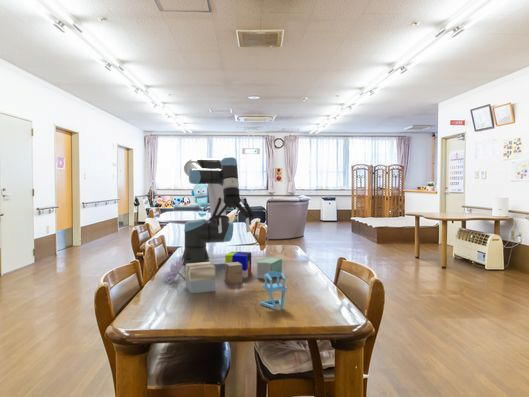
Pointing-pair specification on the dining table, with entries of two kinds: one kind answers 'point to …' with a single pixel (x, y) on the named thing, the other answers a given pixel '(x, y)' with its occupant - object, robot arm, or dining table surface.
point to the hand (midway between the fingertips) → (234, 232)
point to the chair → (274, 289)
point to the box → (268, 266)
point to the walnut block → (233, 272)
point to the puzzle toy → (240, 261)
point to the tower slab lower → (200, 285)
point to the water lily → (174, 271)
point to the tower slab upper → (200, 271)
